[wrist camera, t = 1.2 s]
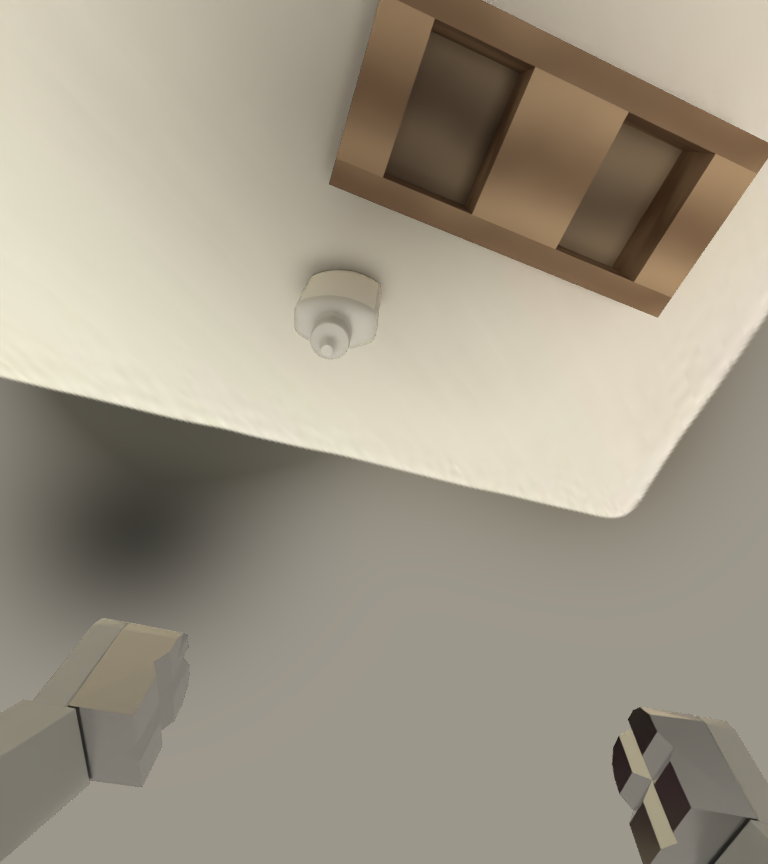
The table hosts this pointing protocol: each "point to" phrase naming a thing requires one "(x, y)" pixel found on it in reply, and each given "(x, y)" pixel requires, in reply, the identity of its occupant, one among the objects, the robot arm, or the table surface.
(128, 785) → the robot arm
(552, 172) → the walnut slot rail
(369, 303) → the eye dropper bottle
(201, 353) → the table surface
